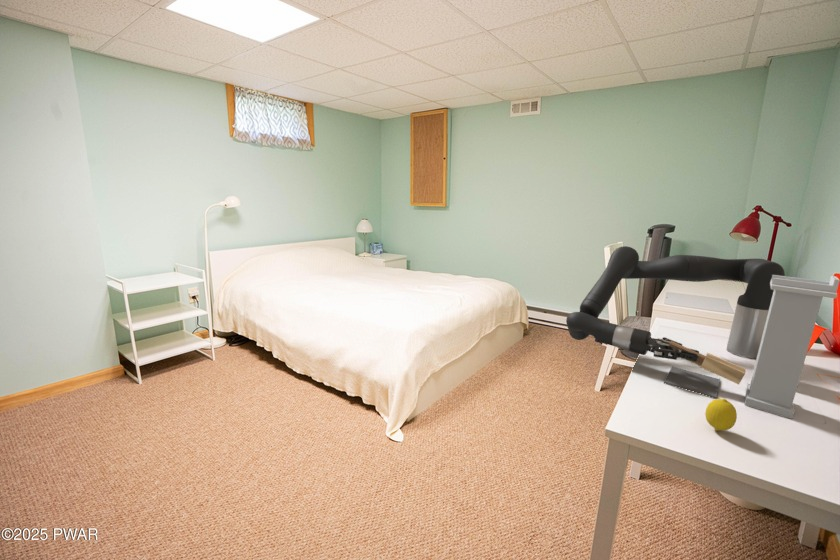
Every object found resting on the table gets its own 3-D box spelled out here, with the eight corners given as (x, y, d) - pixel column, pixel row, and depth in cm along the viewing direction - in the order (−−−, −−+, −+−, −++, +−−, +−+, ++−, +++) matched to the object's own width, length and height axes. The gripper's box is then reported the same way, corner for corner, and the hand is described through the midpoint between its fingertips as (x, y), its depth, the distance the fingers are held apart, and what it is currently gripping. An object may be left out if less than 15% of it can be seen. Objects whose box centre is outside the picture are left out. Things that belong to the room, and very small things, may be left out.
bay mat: (671, 367, 120) (672, 366, 119) (719, 380, 112) (719, 379, 112) (663, 383, 109) (663, 381, 109) (715, 398, 102) (715, 396, 102)
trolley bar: (667, 347, 115) (672, 337, 114) (739, 379, 105) (745, 368, 103) (665, 351, 112) (670, 341, 111) (738, 384, 102) (745, 373, 100)
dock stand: (743, 389, 107) (773, 268, 100) (797, 404, 100) (834, 274, 93) (742, 404, 99) (775, 273, 91) (800, 421, 92) (841, 281, 84)
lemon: (696, 423, 90) (703, 392, 88) (718, 423, 90) (725, 392, 89) (716, 438, 84) (723, 405, 83) (738, 437, 85) (747, 405, 83)
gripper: (634, 344, 126) (698, 361, 115) (623, 356, 115) (691, 376, 104) (638, 323, 124) (703, 338, 113) (627, 333, 114) (697, 351, 103)
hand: (697, 356), depth 109 cm, fingers closed on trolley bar, 2 cm apart
